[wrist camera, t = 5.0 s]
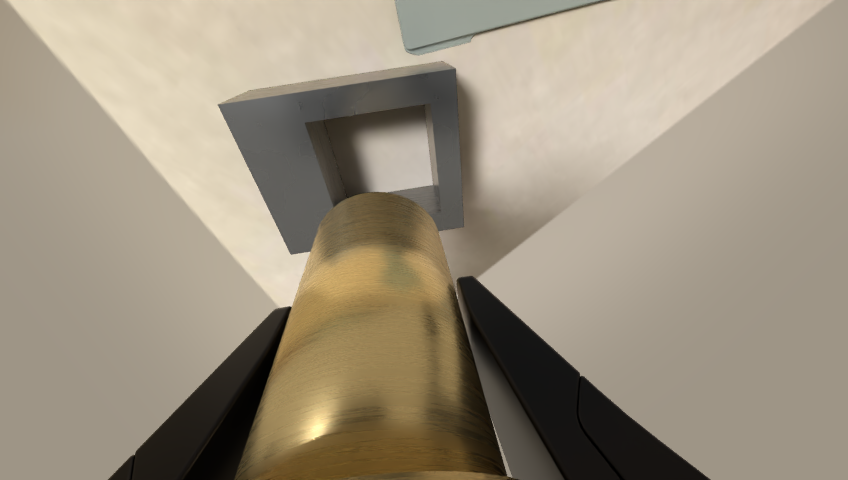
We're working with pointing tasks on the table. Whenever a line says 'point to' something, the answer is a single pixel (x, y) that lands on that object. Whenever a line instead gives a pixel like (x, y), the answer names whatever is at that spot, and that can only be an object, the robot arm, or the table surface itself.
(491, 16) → the metal bracket
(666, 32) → the table surface
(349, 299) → the knob
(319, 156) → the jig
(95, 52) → the table surface
